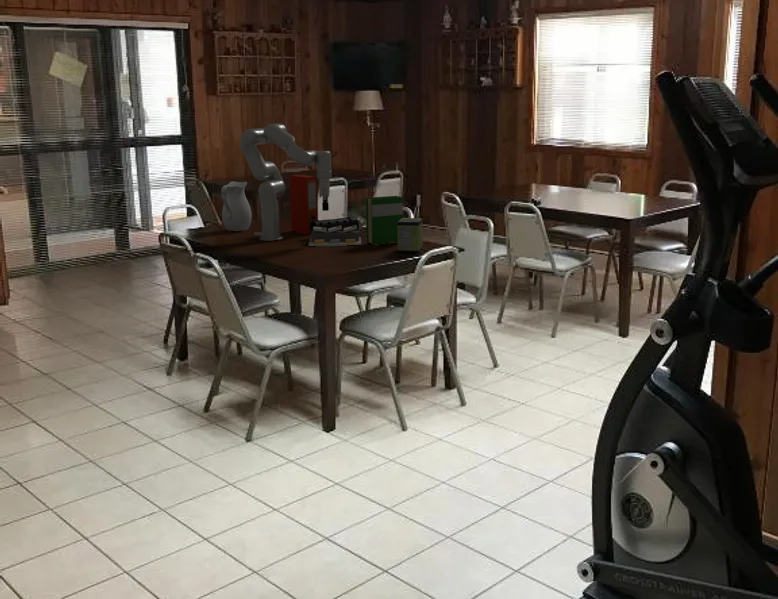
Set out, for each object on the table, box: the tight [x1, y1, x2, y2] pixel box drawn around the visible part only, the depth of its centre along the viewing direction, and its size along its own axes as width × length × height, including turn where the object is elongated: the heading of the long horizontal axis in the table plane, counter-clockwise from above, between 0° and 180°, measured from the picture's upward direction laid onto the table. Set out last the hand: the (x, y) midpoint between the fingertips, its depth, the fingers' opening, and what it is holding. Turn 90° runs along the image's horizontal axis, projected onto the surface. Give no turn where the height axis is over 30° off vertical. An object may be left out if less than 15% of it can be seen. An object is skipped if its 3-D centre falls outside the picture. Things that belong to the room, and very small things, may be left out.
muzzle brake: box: [310, 216, 362, 233], centre depth 465 cm, size 10×28×10 cm, turn 124°
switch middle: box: [328, 225, 342, 232], centre depth 445 cm, size 7×6×1 cm
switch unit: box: [308, 230, 362, 247], centre depth 445 cm, size 27×20×6 cm
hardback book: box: [365, 195, 404, 246], centre depth 441 cm, size 18×7×24 cm, turn 116°
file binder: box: [289, 174, 319, 235], centre depth 479 cm, size 8×17×32 cm, turn 36°
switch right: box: [344, 225, 357, 232], centre depth 446 cm, size 7×6×1 cm
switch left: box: [313, 227, 326, 232], centre depth 445 cm, size 7×6×1 cm
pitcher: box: [220, 181, 253, 231], centre depth 485 cm, size 24×17×28 cm
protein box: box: [397, 217, 424, 254], centre depth 419 cm, size 10×16×16 cm
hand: (325, 210), depth 443 cm, fingers closed
